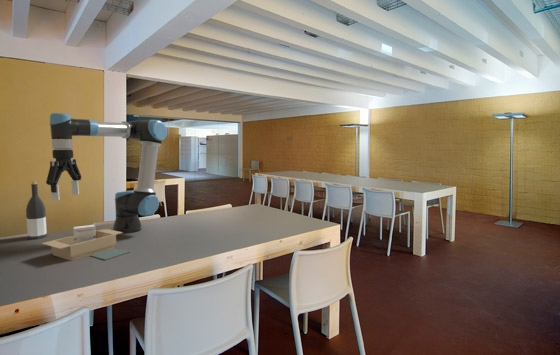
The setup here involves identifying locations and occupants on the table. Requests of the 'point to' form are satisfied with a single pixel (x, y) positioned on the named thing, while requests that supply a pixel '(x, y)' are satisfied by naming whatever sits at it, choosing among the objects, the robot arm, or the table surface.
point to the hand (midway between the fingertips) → (66, 197)
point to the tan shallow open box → (83, 245)
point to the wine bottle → (36, 215)
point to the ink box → (84, 233)
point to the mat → (109, 254)
